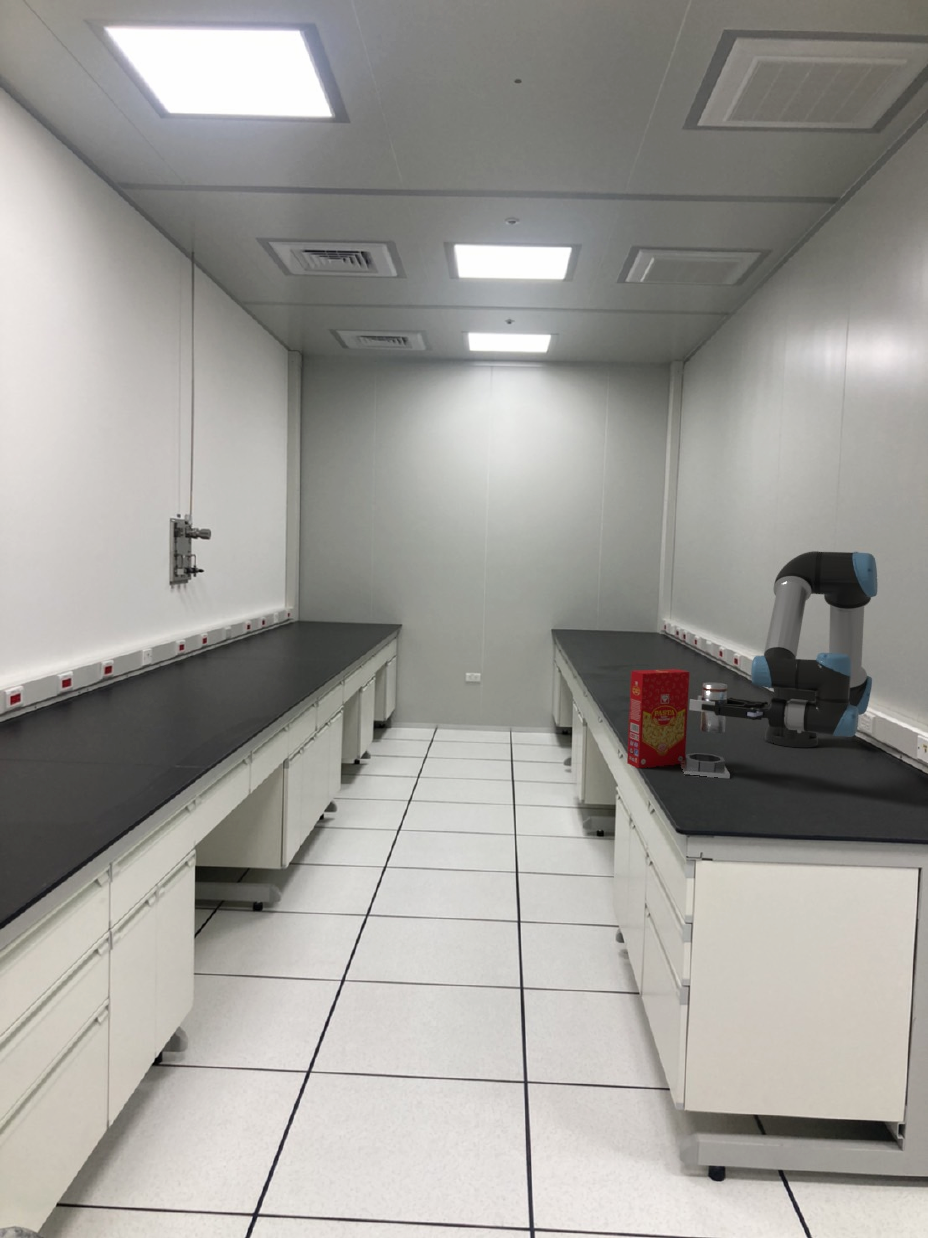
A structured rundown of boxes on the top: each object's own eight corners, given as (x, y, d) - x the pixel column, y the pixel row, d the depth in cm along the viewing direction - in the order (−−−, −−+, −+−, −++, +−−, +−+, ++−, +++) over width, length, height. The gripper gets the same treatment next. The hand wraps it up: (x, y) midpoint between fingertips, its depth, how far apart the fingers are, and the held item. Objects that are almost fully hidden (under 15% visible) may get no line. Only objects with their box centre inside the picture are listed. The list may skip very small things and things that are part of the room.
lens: (723, 728, 212) (725, 683, 211) (727, 733, 206) (730, 686, 205) (698, 727, 213) (700, 681, 212) (702, 732, 207) (704, 685, 206)
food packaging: (638, 768, 213) (642, 673, 211) (627, 763, 218) (631, 670, 216) (684, 764, 218) (689, 672, 216) (672, 759, 223) (677, 669, 221)
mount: (722, 767, 216) (723, 754, 216) (729, 778, 205) (730, 764, 205) (680, 764, 218) (680, 751, 217) (684, 775, 207) (685, 761, 206)
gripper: (778, 735, 191) (681, 722, 204) (794, 722, 207) (704, 711, 220) (780, 704, 191) (683, 693, 203) (796, 693, 207) (705, 683, 219)
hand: (694, 702), depth 211 cm, fingers closed on lens, 6 cm apart
